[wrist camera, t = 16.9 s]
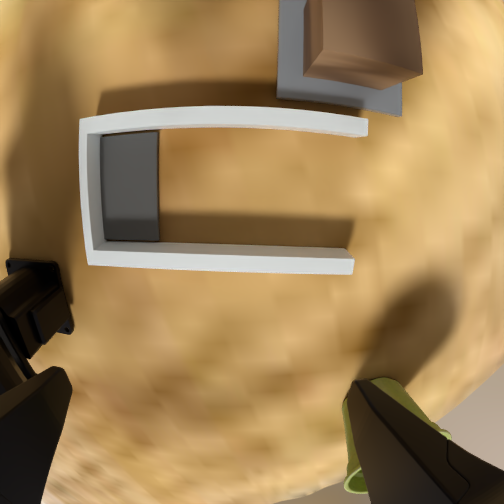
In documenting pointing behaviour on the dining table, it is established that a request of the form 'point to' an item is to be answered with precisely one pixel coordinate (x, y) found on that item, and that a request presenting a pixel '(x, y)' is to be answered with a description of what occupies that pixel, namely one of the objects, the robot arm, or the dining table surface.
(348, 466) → the plant pot
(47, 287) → the robot arm
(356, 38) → the walnut block
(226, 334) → the dining table surface
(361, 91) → the slate coaster
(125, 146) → the channel
